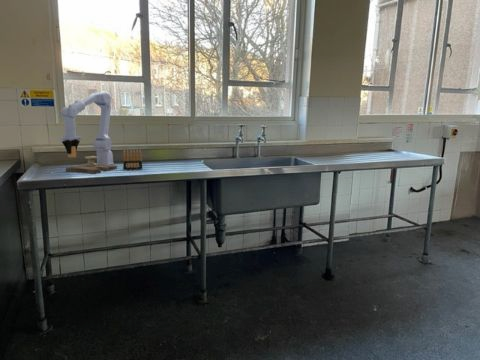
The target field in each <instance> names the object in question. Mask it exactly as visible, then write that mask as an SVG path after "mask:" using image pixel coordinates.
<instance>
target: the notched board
mask: <svg viewBox="0 0 480 360" xmlns="http://www.w3.org/2000/svg"><path fill="white" fill-rule="evenodd" d="M86 164H88V162H87V163H81V164H78V165H71V166H66V167H65V171H66V172H72V173H83V174H84V173H85V174H92V175H93V174H100V173H102V172H103V171H104V172H109V171H113V170H117V169H118V168H117V167H118V166H117V165H115V164H111V165H105V164H97V163H96V164H97V165H96V166H86Z"/></svg>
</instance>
